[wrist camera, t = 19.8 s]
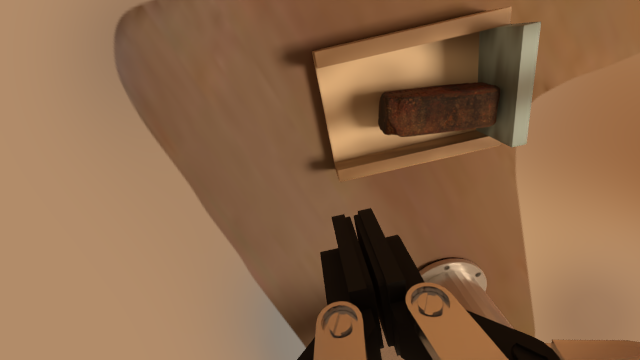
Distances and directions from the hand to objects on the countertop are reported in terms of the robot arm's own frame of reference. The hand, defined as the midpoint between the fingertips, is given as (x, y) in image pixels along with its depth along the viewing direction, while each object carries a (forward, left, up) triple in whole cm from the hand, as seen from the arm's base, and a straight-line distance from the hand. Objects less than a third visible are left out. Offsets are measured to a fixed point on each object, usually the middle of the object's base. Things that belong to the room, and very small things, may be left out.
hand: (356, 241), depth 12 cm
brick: (-1, -12, -21) cm, 24 cm away
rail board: (0, -10, -22) cm, 24 cm away
